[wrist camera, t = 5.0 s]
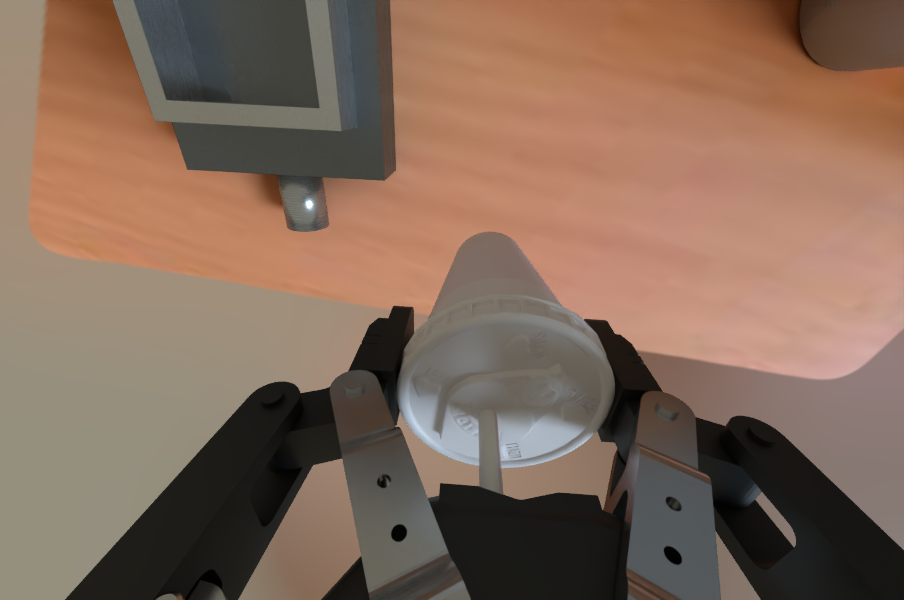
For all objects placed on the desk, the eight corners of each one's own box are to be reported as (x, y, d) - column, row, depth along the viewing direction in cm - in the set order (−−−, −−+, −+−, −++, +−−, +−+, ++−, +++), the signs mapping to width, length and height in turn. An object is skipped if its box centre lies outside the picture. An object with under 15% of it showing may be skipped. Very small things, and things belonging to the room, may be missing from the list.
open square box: (384, -159, 17) (338, -301, 11) (397, 222, 27) (378, 255, 21) (134, -170, 17) (-43, -316, 11) (239, 212, 28) (175, 243, 21)
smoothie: (405, 253, 18) (270, 563, 6) (505, 177, 16) (614, 426, 4) (476, 332, 20) (481, 665, 8) (572, 275, 18) (769, 620, 6)
